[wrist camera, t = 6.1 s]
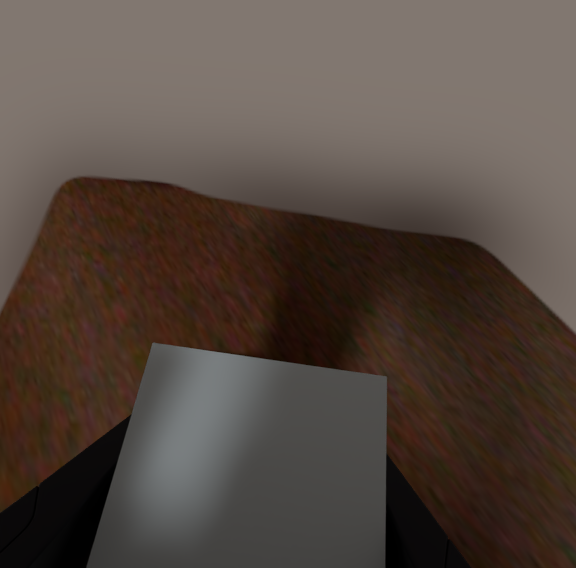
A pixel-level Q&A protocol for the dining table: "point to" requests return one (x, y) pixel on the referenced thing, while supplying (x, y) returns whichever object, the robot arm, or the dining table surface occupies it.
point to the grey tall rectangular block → (248, 467)
